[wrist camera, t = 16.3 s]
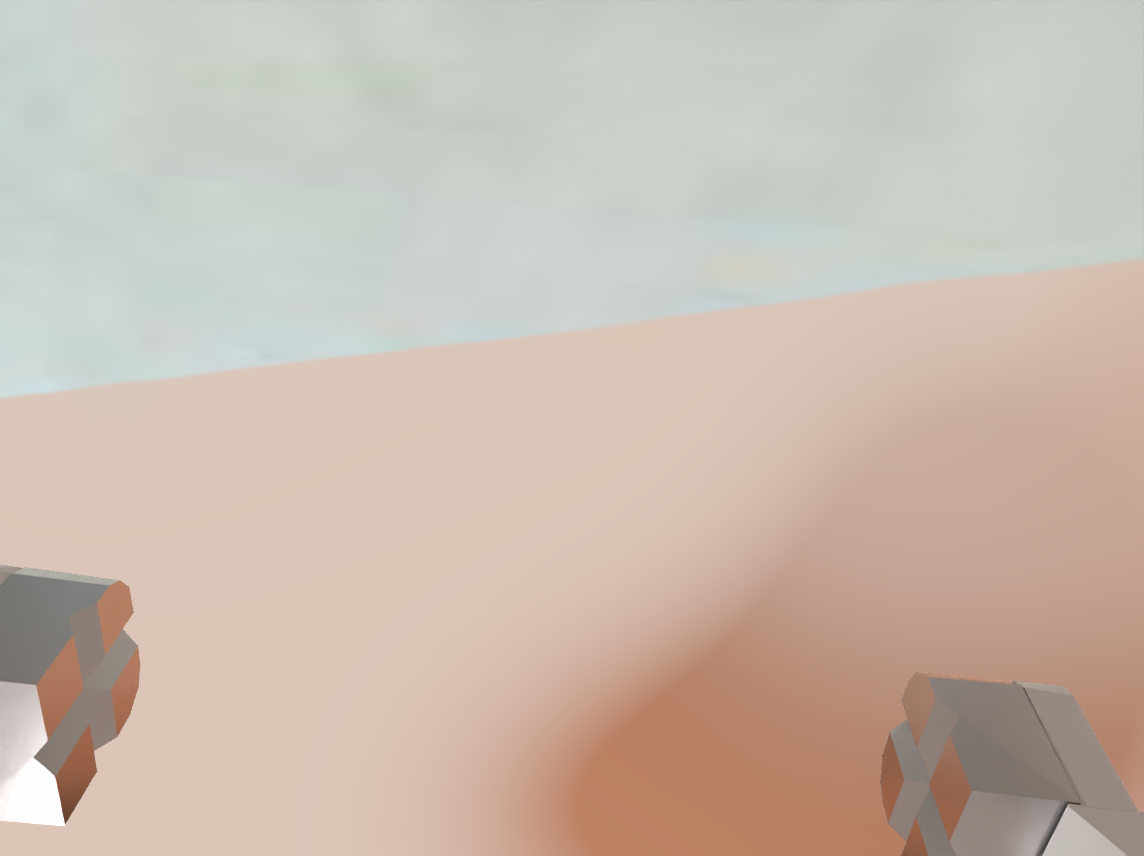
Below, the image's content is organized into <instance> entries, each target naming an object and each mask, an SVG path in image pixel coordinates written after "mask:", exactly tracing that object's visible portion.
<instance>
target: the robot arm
mask: <svg viewBox="0 0 1144 856" xmlns="http://www.w3.org/2000/svg"><path fill="white" fill-rule="evenodd" d="M132 614H133V606H132V601H131V596H130V590H129V586H127V585H126V584H124V583H123V582H121V581H120V580H113V579H106V578H99V577H92V576H84V575H77V574H70V573H63V572H55V571H48V570H41V569H33V568H18V567H13V566H5V565H0V820H3V821H14V822H26V823H39V824H50V825H62V826H65V824H66V822H67V821H68V819H69V817H70V816H71V814H72V812H73V811H74V809H75V807H76V806H77V804H78V802H79V801H80V799H81V797H82V796H83V794H84V792H85V791H86V789H87V787H88V786H89V784H90V782H91V781H92V779H93V777H94V776H95V774H96V772H97V768H96V762H95V755H94V751H95V750H96V749H98V748H100V747H101V746H103V745H105V744H106V743H108V742H110V741H111V740H113V739H115V738H116V737H118V735H119V733H120V731H121V730H122V727H123V726H124V724H125V723H126V721H127V719H128V717H129V715H130V713H131V710H132V706H133V703H134V700H135V697H136V693H137V690H138V687H139V672H140V659H139V650H138V646H137V645H136V643H134V641H133V640H132V639H131V638H130V637H129V636H128V635H127V634H126V633H125V631H124V630H123V628H124V626H125V624H126V623H127V622H128V620H129V619H130V617H131V616H132ZM901 701H902V704H903V707H904V710H905V713H906V716H907V720H906V721H904V722H903V723H901V724H900V725H898V726H897V727H896V728H894V729H893V730H891V731H890V733H889V736H888V739H887V742H886V745H885V749H884V752H883V755H882V765H881V778H880V779H881V780H880V784H881V793H882V801H883V806H884V810H885V814H886V817H887V821H888V824H889V825H890V826H891V827H892V828H893V829H894V830H895V831H896V832H897V833H898V834H899V835H900V836H901V837H902V838H903V839H904V840H905V841H906V844H905V846H904V849H903V851H902V854H901V856H1144V813H1143V812H1139V811H1138V809H1137V807H1136V806H1135V804H1134V802H1133V800H1132V799H1131V797H1130V795H1129V794H1128V791H1127V790H1126V788H1125V786H1124V784H1123V783H1122V781H1121V779H1120V777H1119V775H1118V774H1117V772H1116V770H1115V768H1114V767H1113V765H1112V763H1111V761H1110V760H1109V758H1108V756H1107V754H1106V752H1105V751H1104V749H1103V747H1102V745H1101V744H1100V742H1099V740H1098V738H1097V737H1096V735H1095V733H1094V731H1093V729H1092V728H1091V726H1090V724H1089V722H1088V720H1087V719H1086V717H1085V715H1084V713H1083V712H1082V710H1081V708H1080V706H1079V704H1078V703H1077V701H1076V699H1075V698H1074V696H1073V694H1072V693H1071V692H1070V691H1068V690H1067V689H1066V688H1064V687H1063V686H1060V685H1049V684H1038V683H1027V682H1017V681H1013V682H1011V683H1010V682H1007V681H997V680H988V679H979V678H970V677H960V676H950V675H941V674H933V673H923V672H916V673H915V674H914V675H913V677H912V678H911V679H910V680H909V681H908V683H907V686H906V689H905V691H904V694H903V697H902V699H901Z"/></svg>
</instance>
